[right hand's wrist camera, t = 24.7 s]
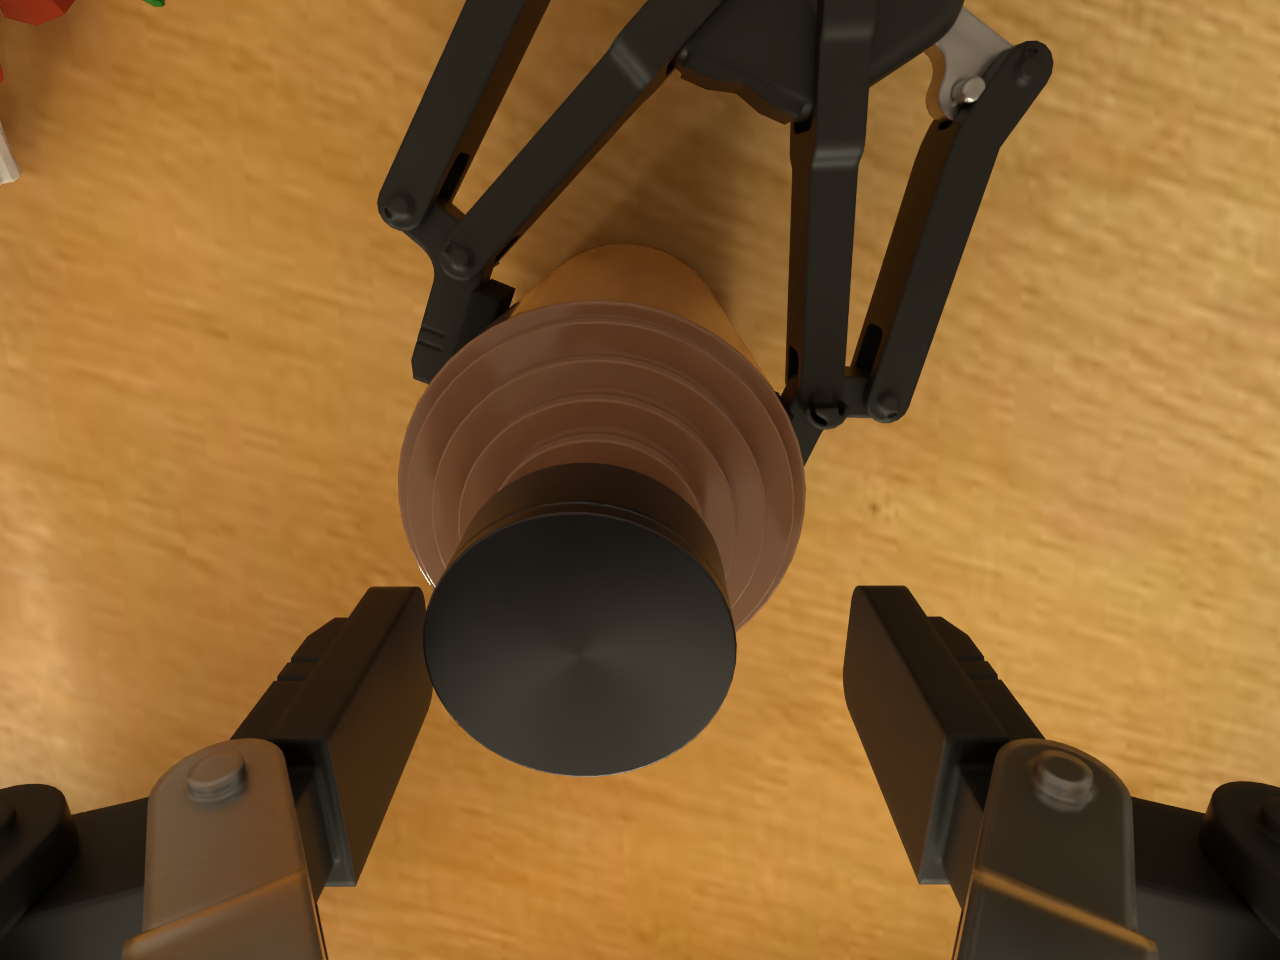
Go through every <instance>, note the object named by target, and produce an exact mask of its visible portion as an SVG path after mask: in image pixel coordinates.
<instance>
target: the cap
mask: <svg viewBox="0 0 1280 960" xmlns="http://www.w3.org/2000/svg"><path fill="white" fill-rule="evenodd" d="M423 649H424V656H425V663H426V666H427V670H428V673H429V677H430V680H431V682H432V684H433V687H434V689H435V691H436V693H437V695H438V697H439V699H440V700H441V702H442V703H443V705H444V707H445V708H446V710H447V711H448V713H449V714H450V715H451V716H452V717H453V718H454V720H455V721H456V722H457V723H458V724H459V726H461V727H462V728H463V729H464V730H465V731H466V732H467V733H468V734H469V735H470V736H471V737H472V738H474V739H475V740H476V741H478V742H479V743H481V744H482V745H483V746H485V747H486V748H487V749H489V750H491V751H493V752H494V753H496V754H498V755H500V756H501V757H503V758H505V759H508V760H510V761H512V762H514V763H517V764H519V765H522V766H525V767H528V768H531V769H534V770H537V771H541V772H546V773H551V774H556V775H564V776H574V777H597V776H607V775H615V774H620V773H625V772H629V771H633V770H636V769H639V768H643V767H646V766H649V765H651V764H653V763H655V762H658V761H660V760H662V759H664V758H666V757H668V756H670V755H671V754H673V753H675V752H676V751H678V750H680V749H681V748H683V747H684V746H685V745H686V744H688V743H689V742H690V741H691V740H693V739H694V738H695V737H696V736H697V735H698V734H699V733H700V732H701V731H702V730H703V729H704V728H705V727H706V726H707V725H708V724H709V722H710V721H711V720H712V718H713V717H714V716H715V714H716V713H717V712H718V710H719V708H720V706H721V705H722V703H723V701H724V699H725V697H726V695H727V693H728V690H729V687H730V685H731V682H732V679H733V674H734V669H735V665H736V651H737V643H736V634H735V626H734V621H733V617H732V611H731V606H730V601H729V596H728V590H727V585H726V580H725V575H724V570H723V565H722V561H721V558H720V554H719V550H718V548H717V545H716V543H715V541H714V538H713V536H712V534H711V532H710V531H709V529H708V527H707V526H706V524H705V522H704V521H703V520H702V518H701V517H700V516H699V515H698V513H697V512H696V511H695V510H694V509H693V507H692V506H691V505H689V504H688V503H687V502H686V501H685V500H684V499H683V498H682V497H681V496H680V495H678V494H677V493H676V492H674V491H673V490H671V489H670V488H669V487H667V486H666V485H664V484H662V483H660V482H659V481H657V480H655V479H653V478H651V477H649V476H647V475H644V474H642V473H639V472H636V471H634V470H631V469H627V468H623V467H619V466H615V465H609V464H602V463H570V464H562V465H556V466H552V467H548V468H544V469H540V470H537V471H535V472H532V473H530V474H527V475H525V476H522V477H520V478H519V479H517V480H515V481H513V482H512V483H510V484H508V485H506V486H505V487H504V488H502V489H501V490H500V491H498V492H497V493H496V494H494V495H493V496H492V497H491V498H490V499H489V500H488V501H487V502H486V503H485V504H484V505H483V506H482V507H481V508H480V510H479V511H478V512H477V514H476V515H475V516H474V518H473V519H472V521H471V522H470V524H469V526H468V528H467V530H466V532H465V533H464V535H463V537H462V539H461V541H460V543H459V545H458V546H457V548H456V550H455V552H454V554H453V556H452V558H451V559H450V561H449V563H448V565H447V567H446V569H445V571H444V572H443V574H442V576H441V578H440V580H439V582H438V584H437V586H436V587H435V589H434V591H433V593H432V596H431V599H430V602H429V604H428V607H427V610H426V616H425V621H424V627H423Z"/></svg>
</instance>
